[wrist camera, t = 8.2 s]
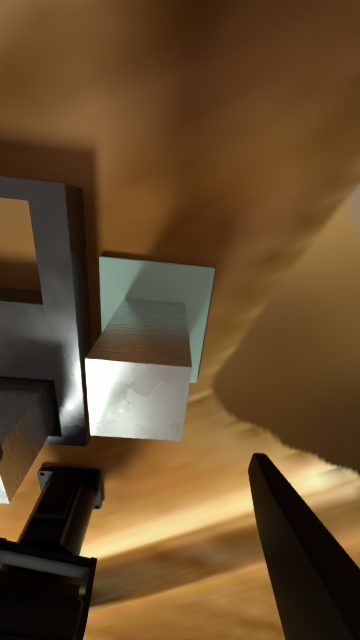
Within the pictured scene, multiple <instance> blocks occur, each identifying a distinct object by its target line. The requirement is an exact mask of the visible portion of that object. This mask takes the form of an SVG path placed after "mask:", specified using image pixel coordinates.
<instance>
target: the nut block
mask: <svg viewBox="0 0 360 640" xmlns="http://www.w3.org/2000/svg"><path fill="white" fill-rule="evenodd" d="M85 365H86V379H87V393H88V407H89V421H90V435H93V436H109V437H124V438H140V439H156V440H172V441H181V438H182V431H183V425H184V418H185V412H186V405H187V398H188V392H189V385H190V379H191V372H192V360H191V350H190V341H189V331H188V321H187V311H186V303H177V302H166V301H156V300H145V299H135V298H124V299H123V301H122V302H121V304H120V305H119V307H118V308H117V310H116V312H115V313H114V315H113V316H112V318H111V319H110V321H109V322H108V324H107V326H106V327H105V329H104V330H103V332H102V333H101V335H100V336H99V338H98V339H97V341H96V343H95V344H94V346H93V347H92V349H91V350H90V352H89V353H88V355H87V357H86V358H85Z"/></svg>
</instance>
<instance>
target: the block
mask: <svg viewBox="0 0 360 640" xmlns="http://www.w3.org/2000/svg"><path fill="white" fill-rule="evenodd" d="M59 418H60V417H59V410H58V403H57V396H56V389H55V382H54V380H46V379H32V378H19V377H5V376H0V444H1V447H2V450H3V456H2V459H1V462H0V503H10V502H11V500H12V498H13V497H14V495H15V493H16V491H17V490H18V488H19V486H20V485H21V483H22V481H23V479H24V478H25V476H26V474H27V473H28V471H29V469H30V467H31V466H32V464H33V462H34V460H35V459H36V457H37V455H38V454H39V452H40V450H41V448H42V447H43V445H44V443H45V442H46V440H47V438H48V436H49V435H50V433H51V431H52V430H53V428H54V426H55V424H56V423H57V421H58V419H59Z"/></svg>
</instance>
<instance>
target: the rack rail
mask: <svg viewBox="0 0 360 640" xmlns="http://www.w3.org/2000/svg"><path fill="white" fill-rule="evenodd" d="M0 197H2V198H11V199H19V200H28V202H29V209H30V215H31V222H32V229H33V236H34V243H35V250H36V257H37V264H38V271H39V278H40V285H41V291H33V290H22V289H11V288H0V376H5V377H19V378H32V379H46V380H54V382H55V389H56V396H57V403H58V410H59V417H60V418H59V419H58V421H57V423H56V424H55V426H54V428H53V430H52V431H51V433H50V435H49V436H48V438H47V440H46V442H45V443H44V444H55V445H72V446H87V445H88V442H89V440H90V437H91V435H90V421H89V407H88V393H87V379H86V365H85V358H86V357H87V355H88V353H89V352H90V350H91V349H92V346H91V329H90V312H89V295H88V278H87V261H86V244H85V228H84V211H83V194H82V189H81V188H78V187H74V186H71V185H67V184H63V183H55V182H46V181H38V180H29V179H21V178H12V177H4V176H0Z"/></svg>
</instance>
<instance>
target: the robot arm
mask: <svg viewBox="0 0 360 640" xmlns="http://www.w3.org/2000/svg"><path fill="white" fill-rule="evenodd" d="M2 456H3V450H2V447H1V444H0V462H1V459H2ZM248 474H249V481H250V487H251V493H252V500H253V506H254V512H255V518H256V524H257V528H258V533H259V537H260V541H261V544H262V548H263V552H264V556H265V560H266V564H267V568H268V572H269V576H270V580H271V584H272V588H273V592H274V596H275V600H276V604H277V608H278V612H279V616H280V620H281V624H282V628H283V632H284V636H285V640H360V568H359V567H358V566H357V565H356V563H355V562H354V561H353V560H352V559H351V557H350V556H349V555H348V554H347V553H346V551H345V550H344V549H343V548H342V546H341V545H340V544H339V543H338V542H337V540H336V539H335V538H334V537H333V535H332V534H331V533H330V532H329V531H328V529H327V528H326V527H325V526H324V524H323V523H322V522H321V521H320V520H319V518H318V517H317V516H316V515H315V514H314V512H313V511H312V510H311V509H310V507H309V506H308V505H307V504H306V503H305V501H304V500H303V499H302V498H301V496H300V495H299V494H298V493H297V492H296V490H295V489H294V488H293V487H292V486H291V484H290V483H289V482H288V481H287V479H286V478H285V477H284V476H283V475H282V473H281V472H280V471H279V470H278V468H277V467H276V466H275V465H274V464H273V462H272V461H271V460H270V459H269V457H268V456H267V455H266V454H264V453H254V454H253V456H252V458H251V461H250V464H249V468H248ZM37 475H38V479H39V483H40V488H41V494H40V496H39V498H38V500H37V502H36V504H35V506H34V508H33V510H32V512H31V514H30V516H29V518H28V520H27V522H26V524H25V526H24V528H23V531H22V533H21V535H20V537H19V539H18V541H17V542H12V541H8V540H7V539H6V538H1V537H0V640H83V637H84V632H85V628H86V623H87V617H88V611H89V605H90V599H91V593H92V587H93V581H94V575H95V569H96V563H97V558H93V557H91V558H87V557H82V556H79V555H80V551H81V548H82V544H83V541H84V537H85V534H86V530H87V527H88V523H89V520H90V516H91V513H92V509H100V508H101V506H102V489H101V473H100V471H98V470H84V469H66V468H47V467H42V468H40V469H39V471H38V473H37Z"/></svg>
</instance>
